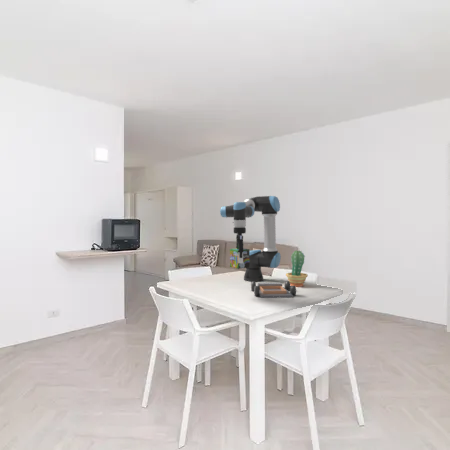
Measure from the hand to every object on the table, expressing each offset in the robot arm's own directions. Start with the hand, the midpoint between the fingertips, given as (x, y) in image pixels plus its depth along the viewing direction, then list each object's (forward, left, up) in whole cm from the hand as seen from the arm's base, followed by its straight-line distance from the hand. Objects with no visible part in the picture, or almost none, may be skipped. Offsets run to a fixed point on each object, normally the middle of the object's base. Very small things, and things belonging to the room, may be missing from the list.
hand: (239, 261), depth 198 cm
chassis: (-6, +22, -21) cm, 31 cm away
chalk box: (0, 0, -4) cm, 4 cm away
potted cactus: (-28, +44, -21) cm, 56 cm away
